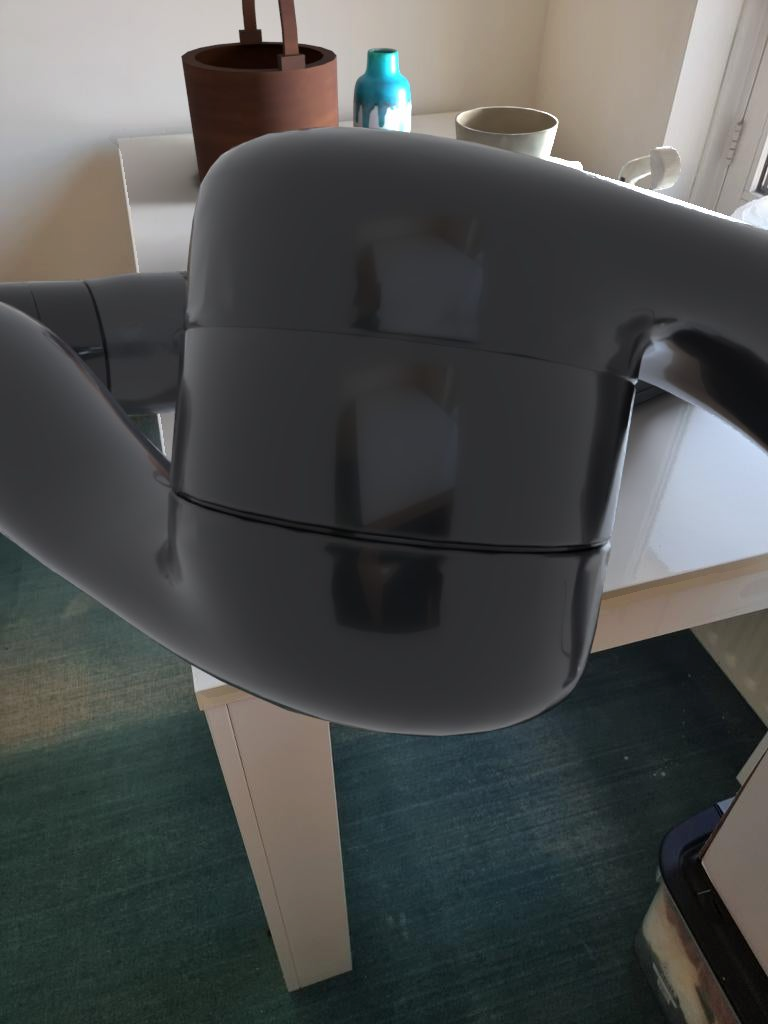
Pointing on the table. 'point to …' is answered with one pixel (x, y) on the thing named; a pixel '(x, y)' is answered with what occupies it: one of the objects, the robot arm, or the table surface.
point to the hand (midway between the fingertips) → (419, 323)
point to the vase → (382, 93)
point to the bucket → (257, 87)
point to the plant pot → (509, 129)
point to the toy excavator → (654, 168)
